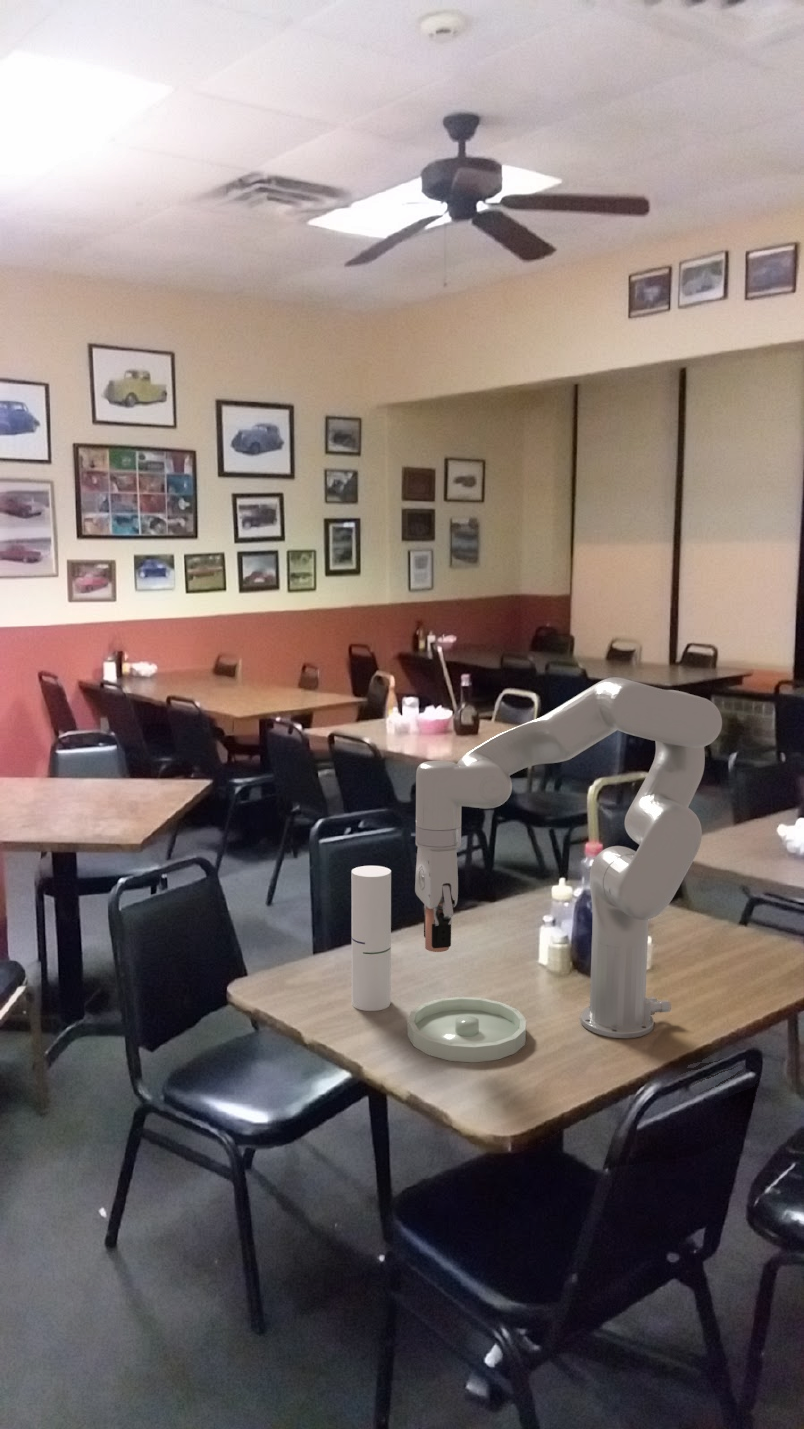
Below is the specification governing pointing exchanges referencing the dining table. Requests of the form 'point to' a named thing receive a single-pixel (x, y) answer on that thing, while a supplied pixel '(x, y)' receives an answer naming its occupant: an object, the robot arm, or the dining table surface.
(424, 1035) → the groove tray
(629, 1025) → the robot arm
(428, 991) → the dining table surface
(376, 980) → the cylindrical container
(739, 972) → the dining table surface
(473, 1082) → the dining table surface
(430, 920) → the orange cylinder
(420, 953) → the dining table surface
